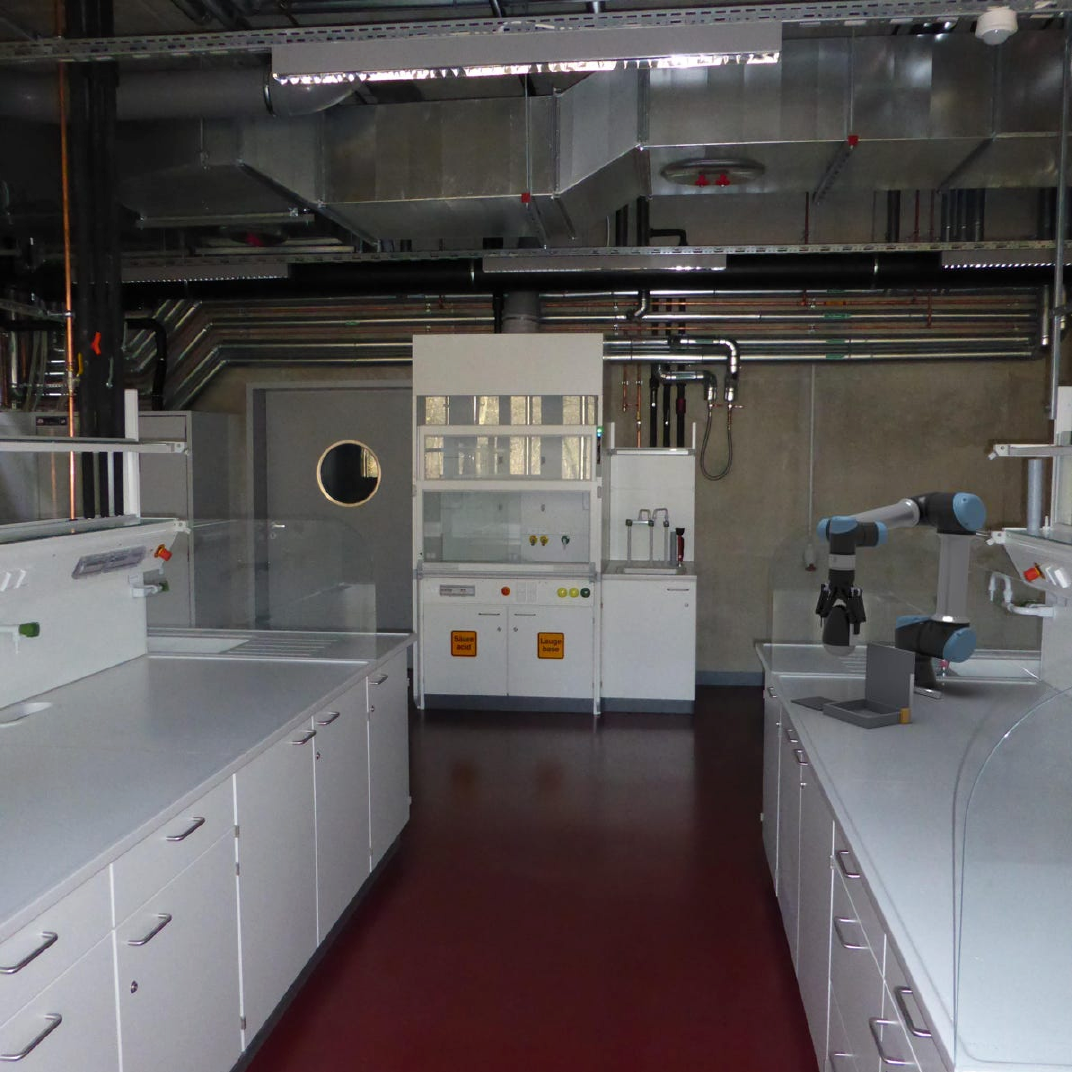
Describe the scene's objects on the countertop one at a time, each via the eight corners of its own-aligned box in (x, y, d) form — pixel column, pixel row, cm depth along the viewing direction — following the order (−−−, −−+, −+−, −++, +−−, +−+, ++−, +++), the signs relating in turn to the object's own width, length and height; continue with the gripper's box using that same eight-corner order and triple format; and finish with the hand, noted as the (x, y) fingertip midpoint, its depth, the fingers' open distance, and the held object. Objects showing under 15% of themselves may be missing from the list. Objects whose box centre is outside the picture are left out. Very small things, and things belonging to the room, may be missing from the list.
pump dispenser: (834, 659, 280) (836, 607, 278) (814, 652, 290) (815, 602, 288) (864, 657, 283) (866, 606, 281) (843, 650, 293) (844, 600, 291)
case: (866, 706, 290) (868, 642, 289) (915, 722, 274) (918, 653, 272) (822, 713, 282) (825, 647, 280) (871, 730, 266) (874, 659, 264)
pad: (819, 697, 301) (819, 696, 301) (848, 706, 291) (848, 704, 291) (790, 701, 296) (790, 700, 296) (819, 710, 285) (819, 709, 285)
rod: (905, 688, 311) (908, 682, 312) (908, 692, 312) (912, 686, 313) (936, 696, 301) (939, 690, 301) (939, 701, 302) (943, 694, 302)
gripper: (804, 565, 292) (802, 636, 294) (863, 573, 272) (860, 650, 274) (821, 563, 296) (819, 634, 298) (881, 571, 276) (878, 647, 278)
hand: (839, 641), depth 286 cm, fingers closed on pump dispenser, 10 cm apart
